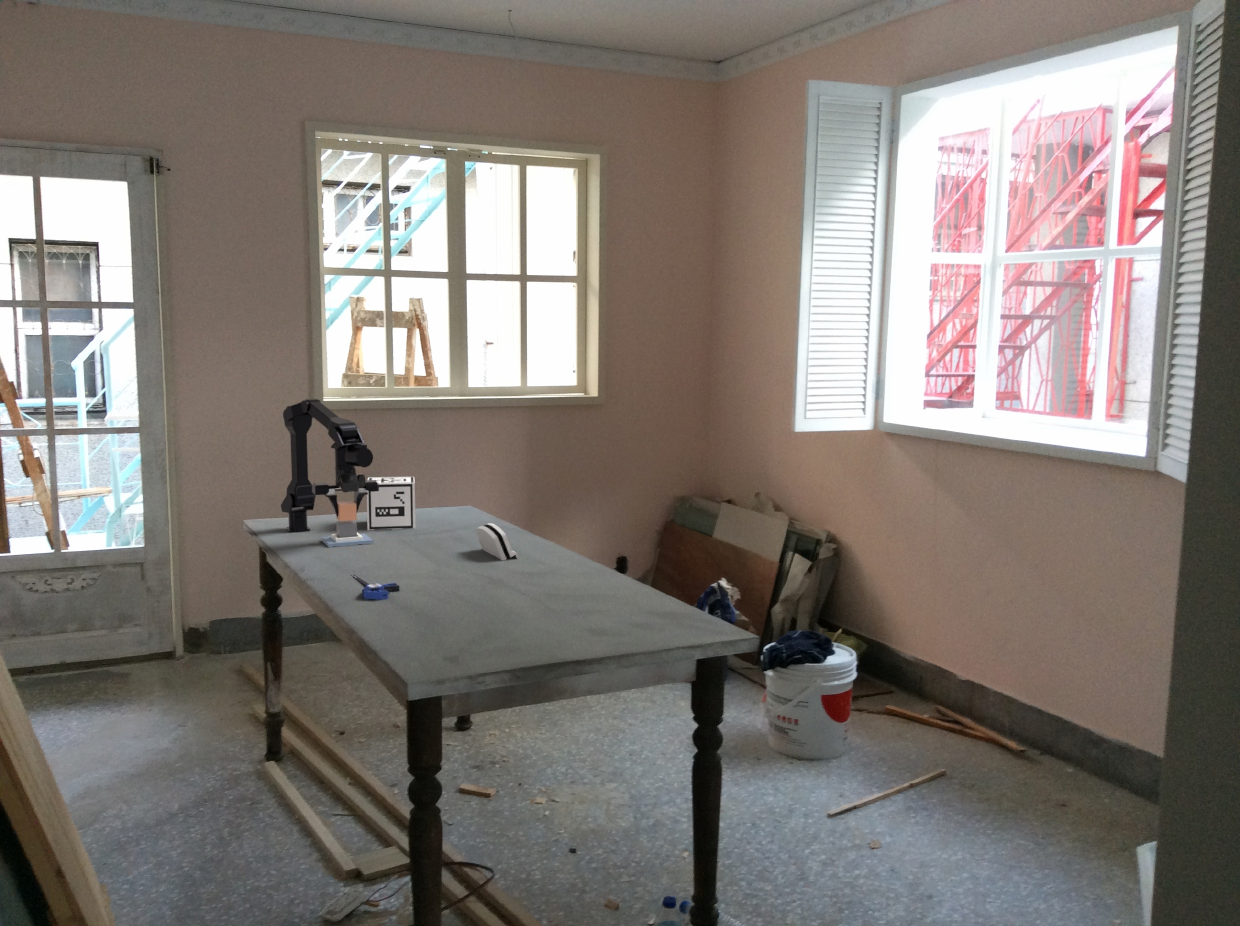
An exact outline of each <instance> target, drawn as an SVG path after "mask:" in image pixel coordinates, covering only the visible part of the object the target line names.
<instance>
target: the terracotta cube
mask: <svg viewBox="0 0 1240 926" xmlns="http://www.w3.org/2000/svg"><path fill="white" fill-rule="evenodd" d="M337 505H338V517H337V516H336V515H335V518H336V520H338V521H351V520H353V521H357V520H358V519H357V517H358V515H357V514H358V511H357V510H356V503H355V502H354V500H349V501H348V500H346V501H337Z"/></svg>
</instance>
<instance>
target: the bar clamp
mask: <svg viewBox="0 0 1240 926" xmlns="http://www.w3.org/2000/svg"><path fill="white" fill-rule="evenodd" d="M350 576H351V577H352V576H353V577H352V578H354V579H355V580H356V579H357V581H358V582H359V583H361V584H363V585H364V586H365V587H363V588H362V589H361V595H362V596H361V597H362V599H363V598H365V599H364V600H367V599H377V600H376V601H383V600H382V599H384V600H388V599H389V592H399V591H400V585H399V584H397V583H395V582H392V583H386V584H381V583H379V582H376V583H368V582H367V581H365V580H363V579H362V578H360V577H358V575H355V574H350ZM354 576H356V577H357V578H355V577H354ZM387 598H388V599H387Z"/></svg>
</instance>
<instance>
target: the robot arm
mask: <svg viewBox="0 0 1240 926" xmlns="http://www.w3.org/2000/svg"><path fill="white" fill-rule="evenodd" d="M282 417H283V421H284V426H285V428H286V430H287V431H288V432H289V435H290V436H289V437H290V461H291V462H290V463H291V466H290V467H291V480H290V482H289V483H288V485H287V487H286V496H285V497H284V499H283V500H282V502H281V504H280V508H281V512H283V513H287V517H288V518H287V519H288V526H286V527H285V529H286V530H287V531H288V532H289V533H293V532H305V531H311V528H310V527H309V526H308V511H314V507H315V502H316V497H317V495H318V496H325V497H326V498H328V500H329V501H330V503H331V506H332V508H333V512H334V513H335V517H336V516H337V517H338V505H337V502H338V495H337V493H336V492H340V491H341V492H343V493H349V492H353V493H354V495H353V502H355V503H356V510H357V512H358V511H359V508H360V505H361V502H362V500H363V498H364V497H365V496H367V494H368V492H367V491H369V492H374V491H379V484H378V483H377V482H376V481H374V480H368V479H366V475H365V474H358V475H357V471H356V467H360V468H368V467H369V466H371V465H372V463H373V460H374V454H373V452H372V451H371V450H370V448H368V444H367V443H365V441H364V438H363V436H362V434H361V432H360V430H359V428H358V426H357V424H356V422H353V421H351V420H349V419H348V418H347V419H346V418H343V417H340V416H338V415H337V414H335V413H334V411H332V410H331V409H330V408H328V407H327V406H326V405H324V404H323V403H322V401H321V400H320V399H318V398H309V399H308V398H307V399H303V400H302V401H300V402H297V403H295V404H293V405H288V406H286V408H285V409H283V412H282ZM313 419H314V420H316V421H317V422H318V423H319V424H321V425H322V426H324V427H325V428H326V430H327V434H328V436H329V437H330V438H331V440H332V441H333V442H334V443H332V445H330V448H331V449H334V471H335V472H334V473H335V474H334V475H335V481H334V482H335V484H328V483H326V482H315V483H313V484H312V482H311V481H310V479H309V463H308V462H309V461H308V458H309V457H308V432H309V431H310V429H311V427H312V425H313Z"/></svg>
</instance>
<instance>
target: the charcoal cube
mask: <svg viewBox="0 0 1240 926" xmlns="http://www.w3.org/2000/svg"><path fill="white" fill-rule="evenodd" d="M335 524H336V534H337V537H338V538H347V537H357V532H358V527H357V526H358V525H357V524H358V523H357V522H356V520H350V521H339V520H338V521H336V522H335Z"/></svg>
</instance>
